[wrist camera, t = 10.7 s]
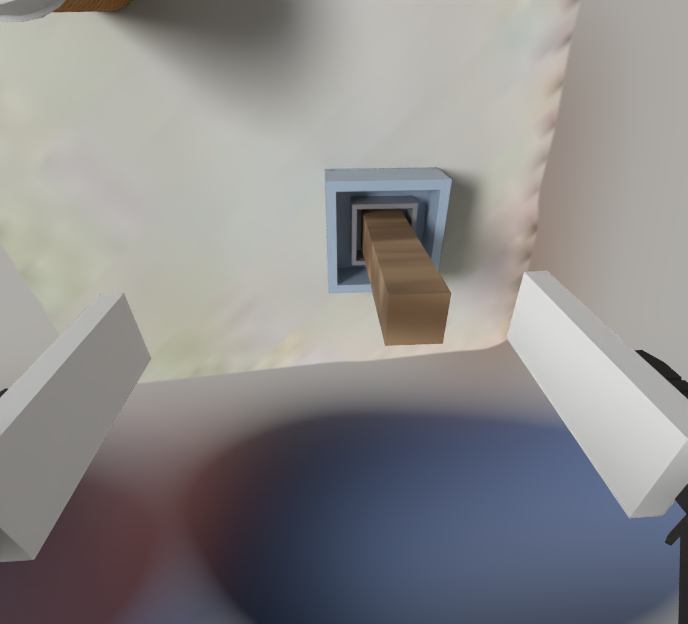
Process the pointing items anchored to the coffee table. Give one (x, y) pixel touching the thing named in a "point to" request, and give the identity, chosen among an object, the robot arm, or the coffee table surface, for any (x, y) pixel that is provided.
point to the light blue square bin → (380, 193)
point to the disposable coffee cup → (53, 8)
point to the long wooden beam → (403, 280)
